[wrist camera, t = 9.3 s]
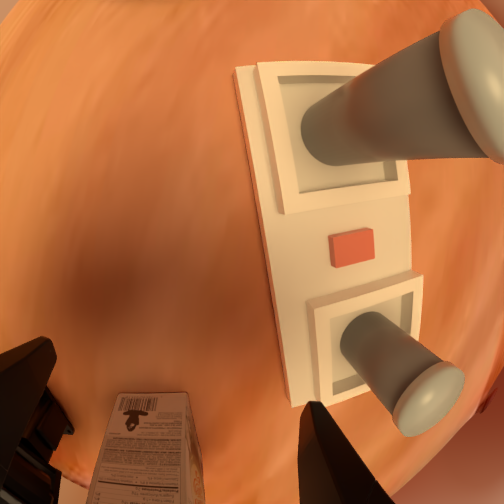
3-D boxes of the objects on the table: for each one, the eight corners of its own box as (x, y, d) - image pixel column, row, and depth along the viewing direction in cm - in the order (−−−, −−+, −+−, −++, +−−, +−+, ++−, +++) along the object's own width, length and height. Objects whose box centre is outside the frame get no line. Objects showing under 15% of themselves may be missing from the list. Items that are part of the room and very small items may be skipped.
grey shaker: (291, 159, 17) (471, 120, 4) (303, 88, 16) (450, -20, 3) (359, 177, 17) (543, 187, 5) (368, 111, 17) (533, 65, 4)
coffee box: (204, 454, 23) (220, 595, 7) (142, 454, 22) (132, 588, 6) (188, 389, 21) (194, 582, 5) (114, 390, 20) (68, 559, 4)
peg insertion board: (287, 396, 22) (329, 493, 12) (232, 75, 16) (263, -24, 6) (396, 358, 23) (463, 422, 13) (374, 74, 17) (469, 26, 7)
